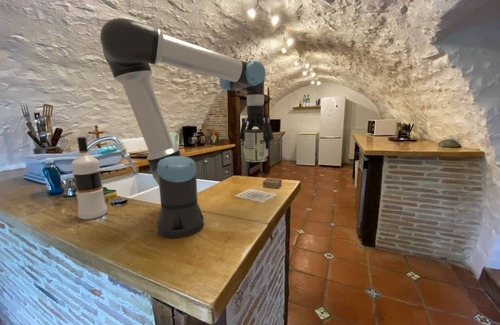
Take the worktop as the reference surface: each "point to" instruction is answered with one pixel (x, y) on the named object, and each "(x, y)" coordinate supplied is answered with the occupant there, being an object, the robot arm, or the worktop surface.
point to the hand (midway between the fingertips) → (255, 155)
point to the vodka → (88, 184)
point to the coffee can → (254, 145)
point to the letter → (256, 195)
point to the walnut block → (272, 183)
